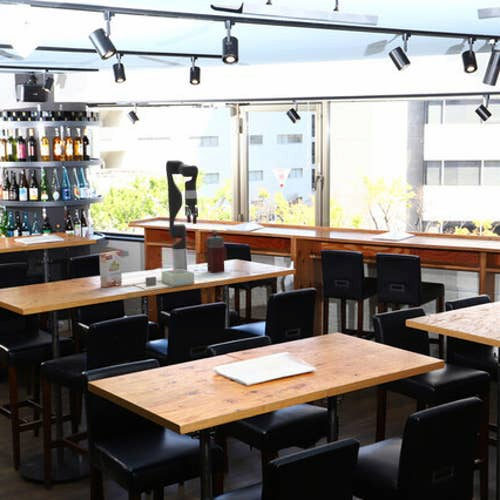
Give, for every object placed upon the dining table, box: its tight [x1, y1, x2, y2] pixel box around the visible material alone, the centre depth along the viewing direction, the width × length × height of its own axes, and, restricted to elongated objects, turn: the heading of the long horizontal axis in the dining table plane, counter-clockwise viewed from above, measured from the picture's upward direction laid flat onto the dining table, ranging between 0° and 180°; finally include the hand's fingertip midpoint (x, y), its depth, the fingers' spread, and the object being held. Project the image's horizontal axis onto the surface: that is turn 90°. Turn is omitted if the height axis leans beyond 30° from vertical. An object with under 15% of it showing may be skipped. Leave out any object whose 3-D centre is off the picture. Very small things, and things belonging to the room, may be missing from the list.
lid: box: [133, 276, 170, 290], centre depth 521 cm, size 19×15×6 cm
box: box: [161, 269, 195, 287], centre depth 529 cm, size 18×14×7 cm
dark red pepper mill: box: [206, 229, 228, 274], centre depth 568 cm, size 9×11×28 cm
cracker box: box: [98, 250, 123, 288], centre depth 527 cm, size 14×6×21 cm, turn 148°
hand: (191, 223), depth 534 cm, fingers open, 8 cm apart
